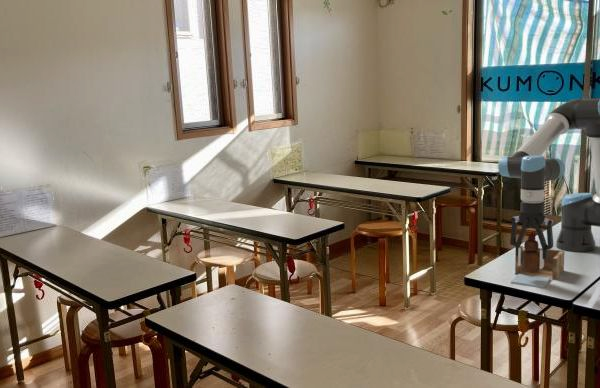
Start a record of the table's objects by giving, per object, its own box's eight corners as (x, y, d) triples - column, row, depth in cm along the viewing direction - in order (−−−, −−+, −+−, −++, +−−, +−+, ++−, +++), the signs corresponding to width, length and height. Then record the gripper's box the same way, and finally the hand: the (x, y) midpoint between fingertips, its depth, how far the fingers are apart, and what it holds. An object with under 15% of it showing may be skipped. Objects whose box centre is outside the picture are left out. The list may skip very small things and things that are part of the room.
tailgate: (518, 273, 213) (510, 281, 205) (550, 278, 207) (543, 286, 199) (518, 276, 213) (510, 284, 205) (550, 281, 207) (543, 289, 199)
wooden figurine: (541, 274, 202) (542, 231, 199) (523, 274, 203) (524, 231, 200) (537, 268, 208) (538, 227, 206) (520, 268, 209) (521, 227, 207)
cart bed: (524, 269, 225) (524, 246, 223) (563, 274, 217) (564, 250, 215) (514, 278, 215) (514, 254, 213) (555, 284, 207) (556, 259, 205)
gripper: (500, 201, 204) (499, 265, 208) (560, 205, 193) (558, 273, 197) (506, 197, 210) (505, 260, 214) (565, 201, 199) (563, 267, 202)
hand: (530, 266), depth 205 cm, fingers closed on wooden figurine, 6 cm apart
